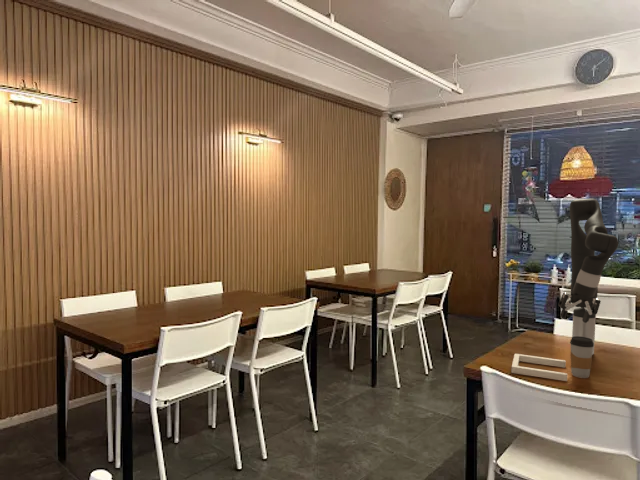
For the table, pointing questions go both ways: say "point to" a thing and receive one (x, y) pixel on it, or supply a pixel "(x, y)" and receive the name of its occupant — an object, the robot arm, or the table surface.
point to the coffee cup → (581, 356)
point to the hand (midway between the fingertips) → (573, 320)
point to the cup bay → (538, 372)
